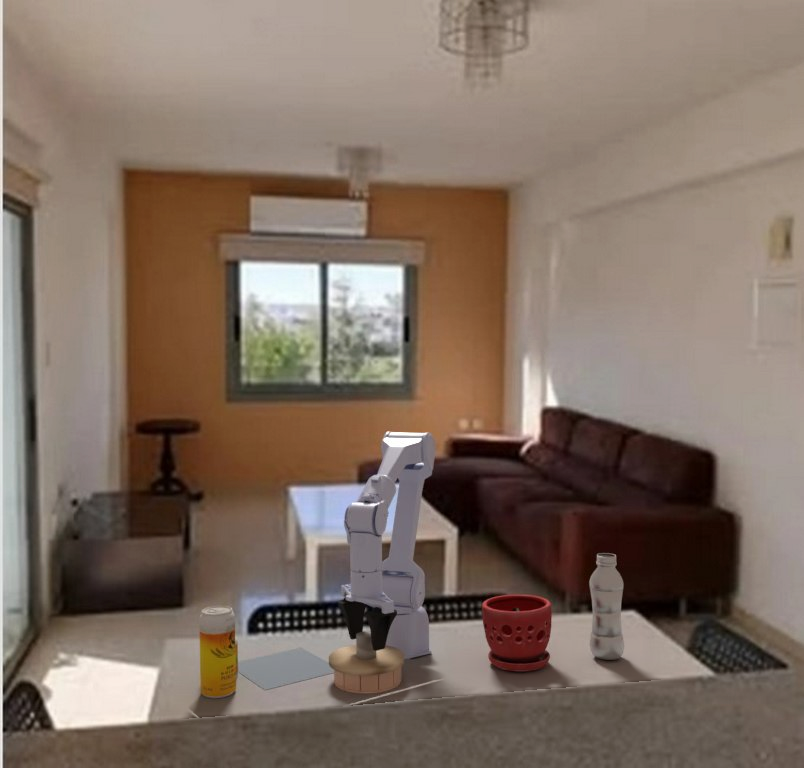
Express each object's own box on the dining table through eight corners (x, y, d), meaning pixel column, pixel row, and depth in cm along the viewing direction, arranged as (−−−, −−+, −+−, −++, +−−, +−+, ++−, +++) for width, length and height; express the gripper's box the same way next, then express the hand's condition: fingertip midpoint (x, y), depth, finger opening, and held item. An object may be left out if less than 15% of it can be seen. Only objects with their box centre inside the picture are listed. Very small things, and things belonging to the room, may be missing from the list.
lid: (380, 644, 173) (380, 618, 173) (418, 665, 161) (418, 637, 161) (315, 658, 166) (315, 631, 166) (351, 681, 154) (350, 652, 154)
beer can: (228, 702, 155) (226, 615, 155) (195, 700, 156) (193, 614, 156) (241, 689, 161) (239, 605, 161) (209, 686, 162) (207, 604, 162)
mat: (301, 649, 182) (300, 647, 182) (342, 672, 169) (342, 670, 169) (227, 666, 173) (226, 664, 173) (265, 692, 160) (265, 689, 160)
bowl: (377, 667, 172) (376, 646, 172) (414, 686, 162) (413, 664, 162) (322, 681, 165) (321, 659, 165) (357, 701, 155) (357, 679, 155)
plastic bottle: (605, 666, 171) (605, 560, 170) (582, 655, 177) (582, 553, 176) (631, 660, 174) (631, 556, 173) (608, 649, 180) (608, 549, 179)
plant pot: (548, 652, 179) (547, 592, 178) (555, 677, 165) (554, 612, 165) (481, 651, 179) (481, 591, 179) (483, 676, 166) (482, 611, 166)
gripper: (326, 564, 166) (327, 637, 167) (369, 580, 155) (370, 659, 155) (358, 558, 170) (359, 630, 171) (403, 574, 159) (404, 650, 159)
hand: (367, 643), depth 163 cm, fingers open, 7 cm apart
